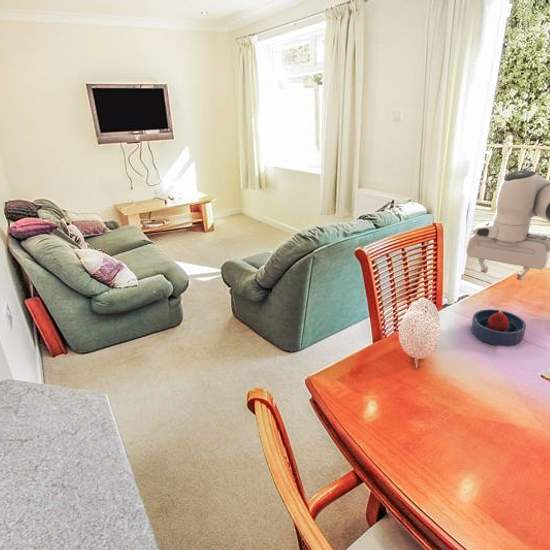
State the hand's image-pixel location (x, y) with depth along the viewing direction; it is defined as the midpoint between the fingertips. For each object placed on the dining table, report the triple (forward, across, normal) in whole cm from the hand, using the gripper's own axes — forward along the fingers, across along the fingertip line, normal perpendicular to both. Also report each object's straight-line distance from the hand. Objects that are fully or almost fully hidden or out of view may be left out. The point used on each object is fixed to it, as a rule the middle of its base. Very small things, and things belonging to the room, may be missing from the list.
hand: (501, 275), depth 111 cm
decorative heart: (+20, +13, +25) cm, 35 cm away
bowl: (+20, -1, -1) cm, 20 cm away
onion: (+20, -1, -1) cm, 20 cm away
